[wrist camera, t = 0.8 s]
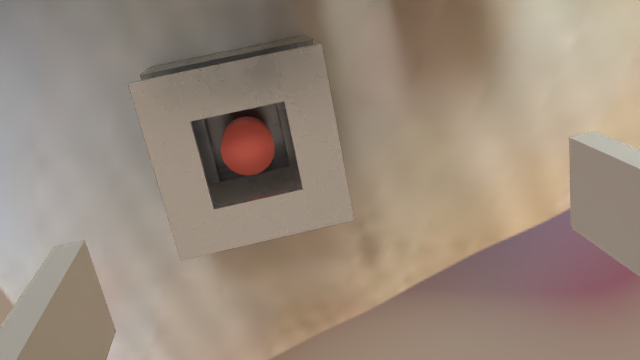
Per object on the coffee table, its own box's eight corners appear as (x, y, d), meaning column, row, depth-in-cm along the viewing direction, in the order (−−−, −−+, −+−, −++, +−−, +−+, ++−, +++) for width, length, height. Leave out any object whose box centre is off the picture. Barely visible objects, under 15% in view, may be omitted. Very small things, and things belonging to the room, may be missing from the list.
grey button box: (149, 67, 36) (128, 84, 29) (304, 35, 37) (321, 43, 30) (190, 211, 39) (180, 260, 32) (332, 180, 40) (354, 219, 33)
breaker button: (216, 122, 34) (215, 129, 32) (266, 111, 34) (268, 118, 32) (228, 170, 34) (227, 180, 33) (277, 159, 35) (279, 168, 33)
